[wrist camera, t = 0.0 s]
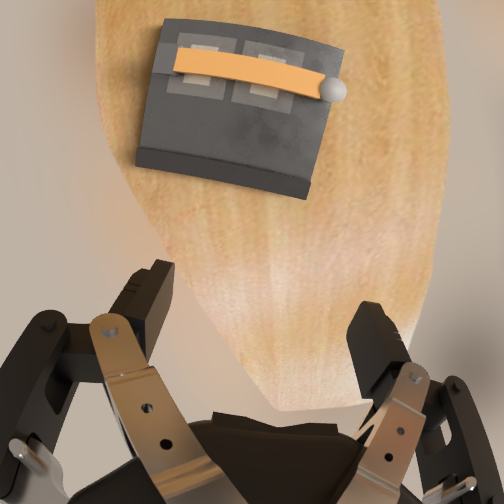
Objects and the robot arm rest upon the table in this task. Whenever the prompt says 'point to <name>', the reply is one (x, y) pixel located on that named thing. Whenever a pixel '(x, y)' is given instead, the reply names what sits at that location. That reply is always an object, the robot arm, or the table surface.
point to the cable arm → (247, 71)
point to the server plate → (237, 112)
